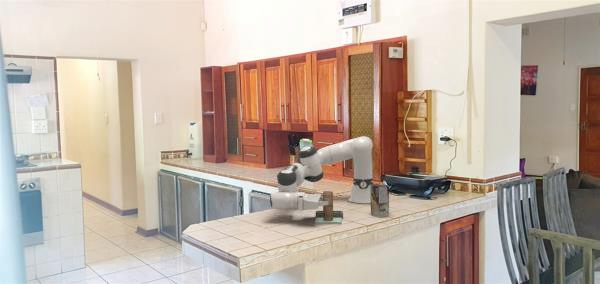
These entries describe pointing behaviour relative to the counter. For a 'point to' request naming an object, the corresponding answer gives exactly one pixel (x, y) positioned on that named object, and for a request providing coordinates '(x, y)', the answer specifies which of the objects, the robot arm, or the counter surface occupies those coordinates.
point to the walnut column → (328, 206)
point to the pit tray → (335, 214)
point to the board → (334, 221)
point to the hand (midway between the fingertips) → (329, 201)
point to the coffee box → (379, 200)
